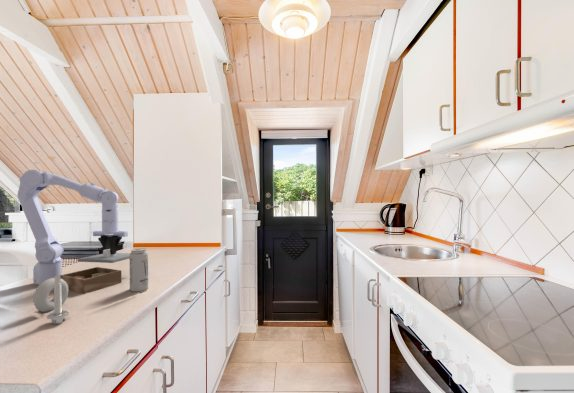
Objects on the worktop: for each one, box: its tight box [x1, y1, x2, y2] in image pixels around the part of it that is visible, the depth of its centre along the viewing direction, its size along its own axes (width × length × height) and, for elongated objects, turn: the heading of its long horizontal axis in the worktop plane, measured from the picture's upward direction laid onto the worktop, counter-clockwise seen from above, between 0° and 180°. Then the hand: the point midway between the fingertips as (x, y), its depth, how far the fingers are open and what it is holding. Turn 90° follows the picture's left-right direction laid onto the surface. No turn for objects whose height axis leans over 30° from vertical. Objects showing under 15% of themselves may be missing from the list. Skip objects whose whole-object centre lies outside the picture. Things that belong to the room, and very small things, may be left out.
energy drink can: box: [129, 247, 149, 294], centre depth 110 cm, size 6×6×15 cm
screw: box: [46, 275, 70, 325], centre depth 84 cm, size 13×5×5 cm
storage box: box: [60, 266, 122, 294], centre depth 114 cm, size 14×14×6 cm
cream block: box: [92, 272, 107, 277], centre depth 118 cm, size 4×4×4 cm
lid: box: [77, 249, 131, 264], centre depth 125 cm, size 15×15×4 cm
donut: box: [32, 278, 69, 313], centre depth 91 cm, size 10×3×10 cm, turn 168°
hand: (110, 254), depth 125 cm, fingers closed on lid, 2 cm apart
